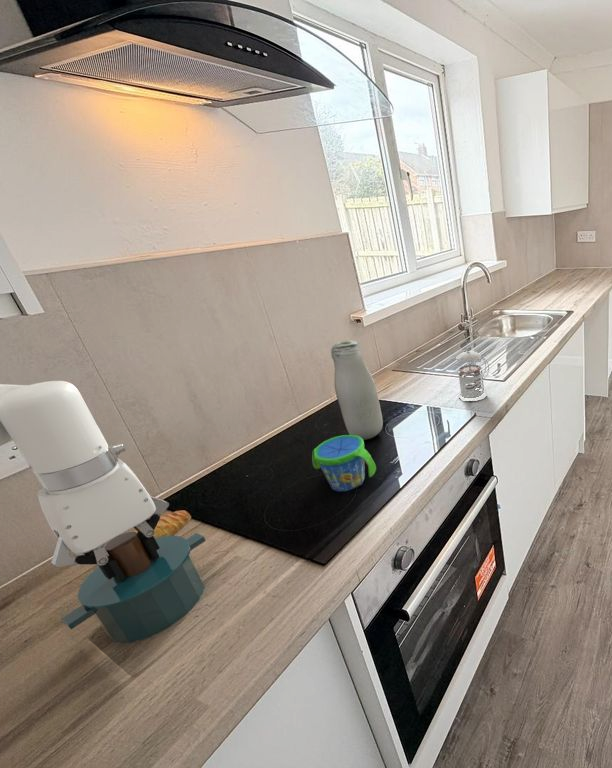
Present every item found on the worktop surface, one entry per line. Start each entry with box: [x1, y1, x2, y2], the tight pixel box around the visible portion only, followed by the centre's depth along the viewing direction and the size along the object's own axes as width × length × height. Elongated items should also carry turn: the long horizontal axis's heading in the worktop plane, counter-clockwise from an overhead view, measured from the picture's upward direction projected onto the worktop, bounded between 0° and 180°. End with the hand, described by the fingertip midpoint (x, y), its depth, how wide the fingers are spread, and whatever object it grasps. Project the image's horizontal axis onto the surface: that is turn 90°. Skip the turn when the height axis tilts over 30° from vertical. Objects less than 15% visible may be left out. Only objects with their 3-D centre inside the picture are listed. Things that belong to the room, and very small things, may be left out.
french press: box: [455, 321, 490, 403], centre depth 132 cm, size 10×12×25 cm
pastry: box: [131, 509, 192, 538], centre depth 84 cm, size 9×7×4 cm
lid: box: [77, 531, 192, 609], centre depth 64 cm, size 14×14×7 cm
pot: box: [60, 532, 207, 644], centre depth 66 cm, size 13×18×8 cm
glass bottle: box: [330, 340, 384, 441], centre depth 110 cm, size 10×10×28 cm
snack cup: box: [311, 434, 377, 493], centre depth 94 cm, size 16×10×10 cm
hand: (135, 565), depth 64 cm, fingers closed on lid, 3 cm apart
